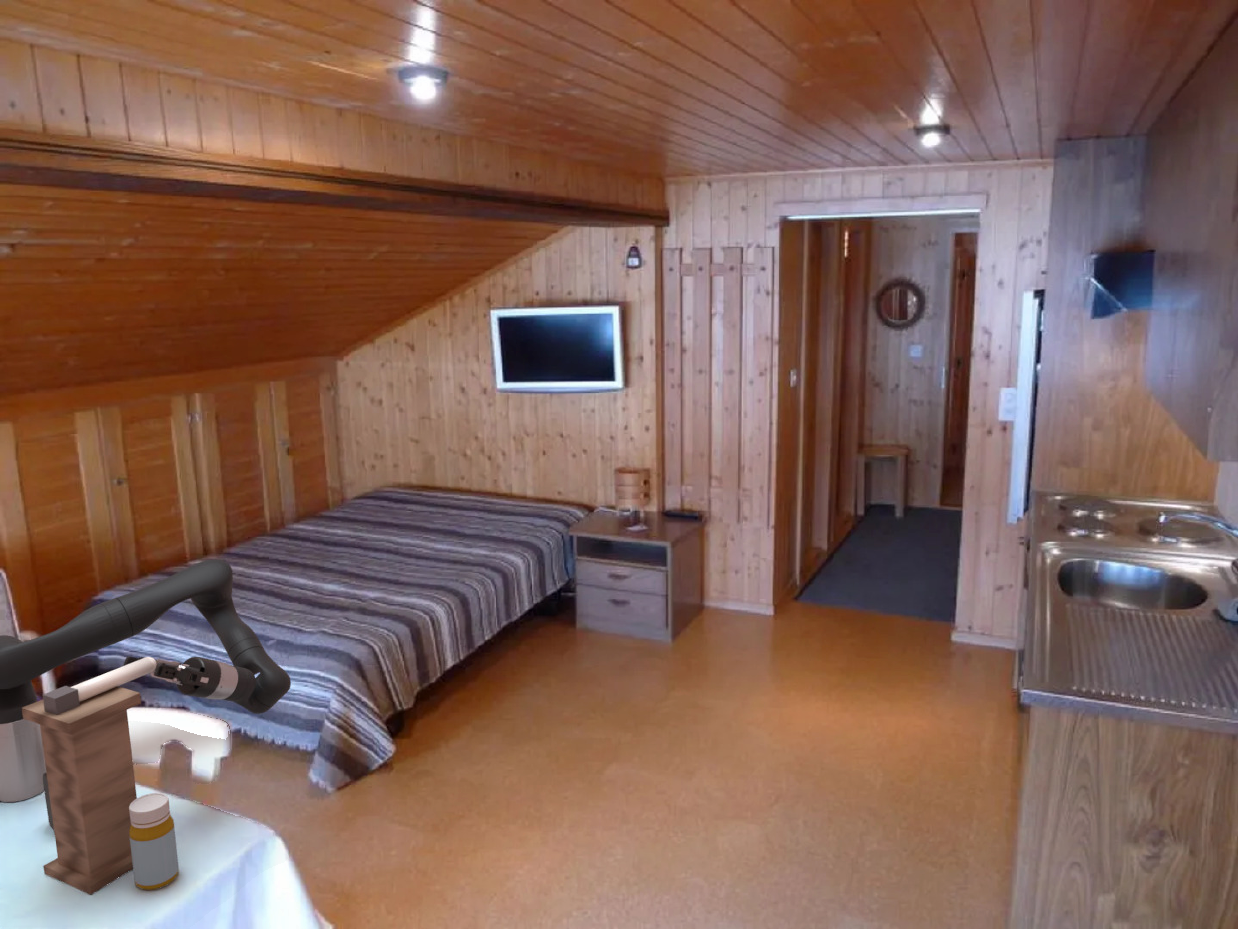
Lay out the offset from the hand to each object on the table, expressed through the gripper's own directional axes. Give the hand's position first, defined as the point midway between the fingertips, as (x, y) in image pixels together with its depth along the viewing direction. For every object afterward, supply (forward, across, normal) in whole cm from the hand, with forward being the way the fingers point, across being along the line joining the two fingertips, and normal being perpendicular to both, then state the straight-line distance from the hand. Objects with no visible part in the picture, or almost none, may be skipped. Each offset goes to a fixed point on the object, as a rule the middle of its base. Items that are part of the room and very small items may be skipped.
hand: (140, 666), depth 170 cm
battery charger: (-11, +18, -33) cm, 39 cm away
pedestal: (-7, 0, -35) cm, 36 cm away
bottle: (-9, -13, -35) cm, 38 cm away
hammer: (+5, 0, -5) cm, 7 cm away
